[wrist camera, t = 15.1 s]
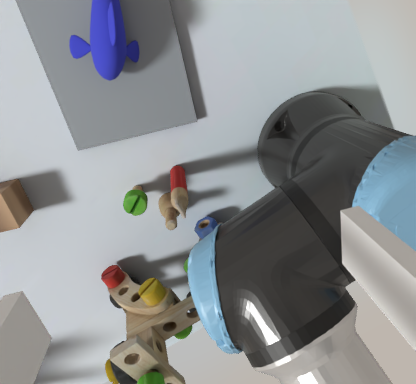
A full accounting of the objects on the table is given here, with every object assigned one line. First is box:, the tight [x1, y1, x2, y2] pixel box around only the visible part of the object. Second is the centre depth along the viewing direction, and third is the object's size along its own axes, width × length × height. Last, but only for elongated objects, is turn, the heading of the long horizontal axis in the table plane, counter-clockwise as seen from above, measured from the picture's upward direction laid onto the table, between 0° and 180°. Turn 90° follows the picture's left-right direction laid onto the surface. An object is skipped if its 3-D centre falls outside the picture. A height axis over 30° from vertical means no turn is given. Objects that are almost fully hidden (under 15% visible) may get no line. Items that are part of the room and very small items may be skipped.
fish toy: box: [69, 0, 139, 81], centre depth 32 cm, size 15×8×7 cm, turn 176°
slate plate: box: [16, 0, 197, 151], centre depth 37 cm, size 16×20×1 cm
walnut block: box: [0, 179, 34, 232], centre depth 41 cm, size 5×5×5 cm
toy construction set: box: [101, 166, 223, 384], centre depth 40 cm, size 27×22×21 cm
